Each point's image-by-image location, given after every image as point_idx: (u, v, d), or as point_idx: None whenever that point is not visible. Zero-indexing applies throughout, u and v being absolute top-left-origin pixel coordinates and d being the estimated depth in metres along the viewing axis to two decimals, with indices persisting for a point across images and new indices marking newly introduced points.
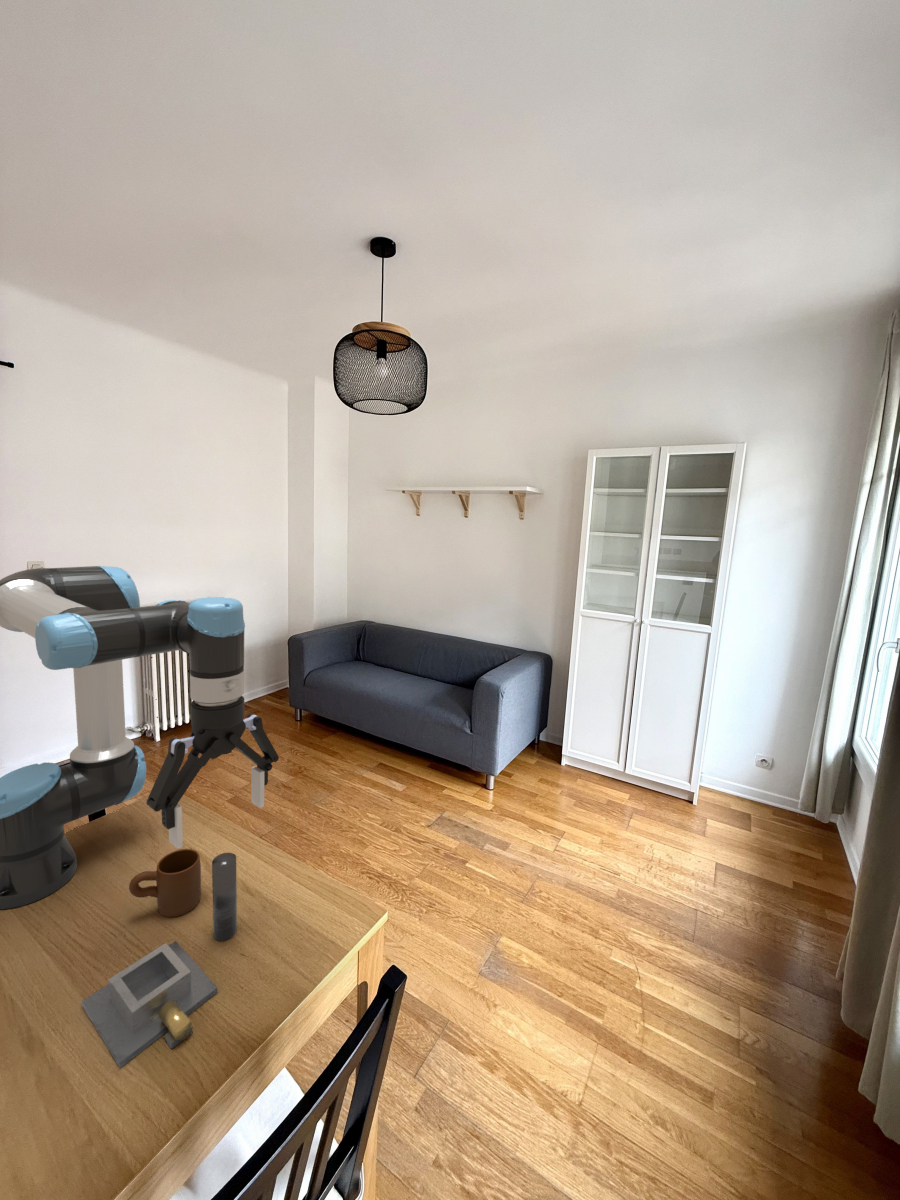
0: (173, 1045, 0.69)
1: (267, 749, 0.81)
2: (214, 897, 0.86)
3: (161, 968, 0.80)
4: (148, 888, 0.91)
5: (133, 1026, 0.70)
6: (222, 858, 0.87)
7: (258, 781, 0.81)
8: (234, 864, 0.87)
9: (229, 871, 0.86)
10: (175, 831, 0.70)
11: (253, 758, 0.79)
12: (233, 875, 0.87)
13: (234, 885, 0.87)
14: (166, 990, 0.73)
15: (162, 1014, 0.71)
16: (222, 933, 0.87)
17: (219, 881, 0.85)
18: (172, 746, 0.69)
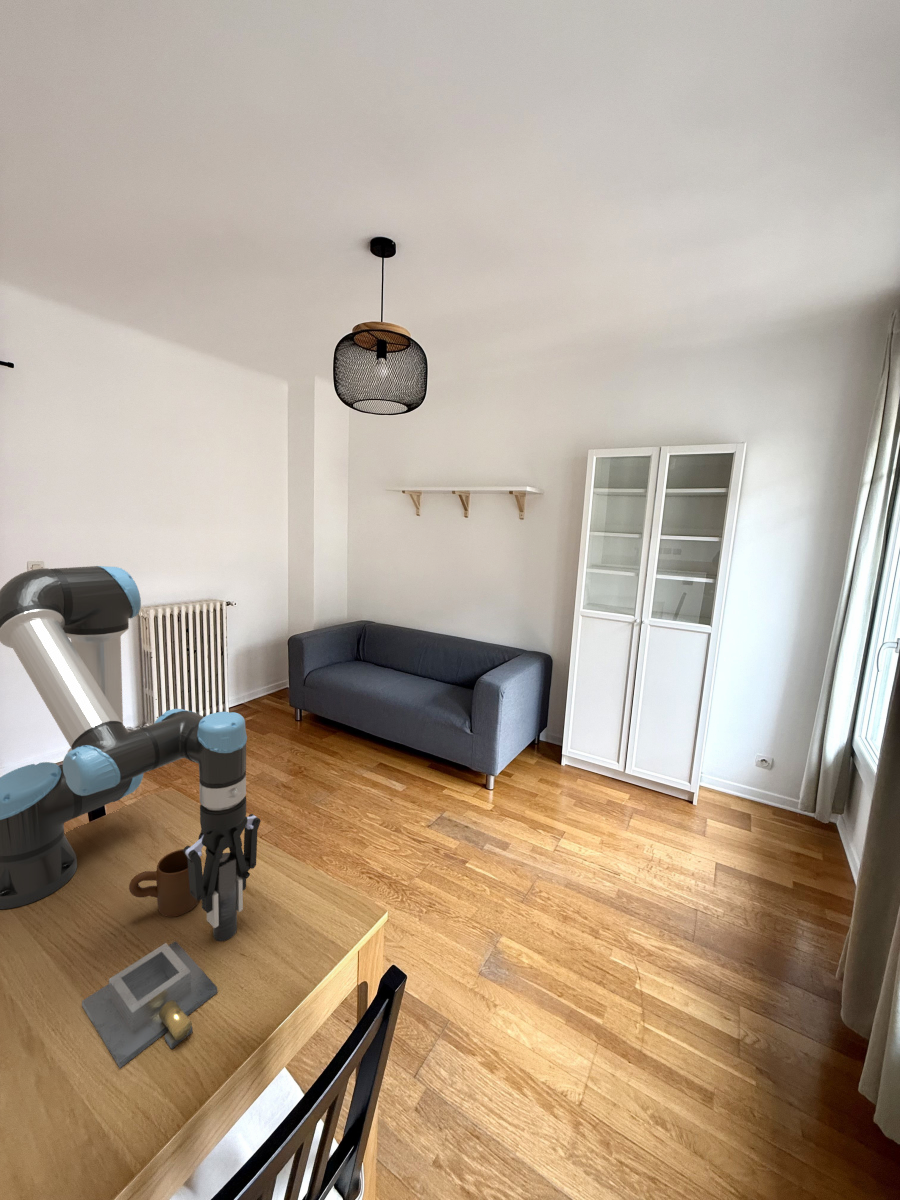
0: (173, 1045, 0.69)
1: (251, 852, 0.90)
2: None
3: (161, 968, 0.80)
4: (148, 888, 0.91)
5: (133, 1026, 0.70)
6: (222, 858, 0.87)
7: (237, 888, 0.89)
8: (234, 864, 0.87)
9: (229, 871, 0.86)
10: (212, 913, 0.86)
11: (239, 861, 0.88)
12: (233, 875, 0.87)
13: (234, 885, 0.87)
14: (166, 990, 0.73)
15: (162, 1014, 0.71)
16: (222, 933, 0.87)
17: (219, 881, 0.85)
18: (187, 856, 0.81)
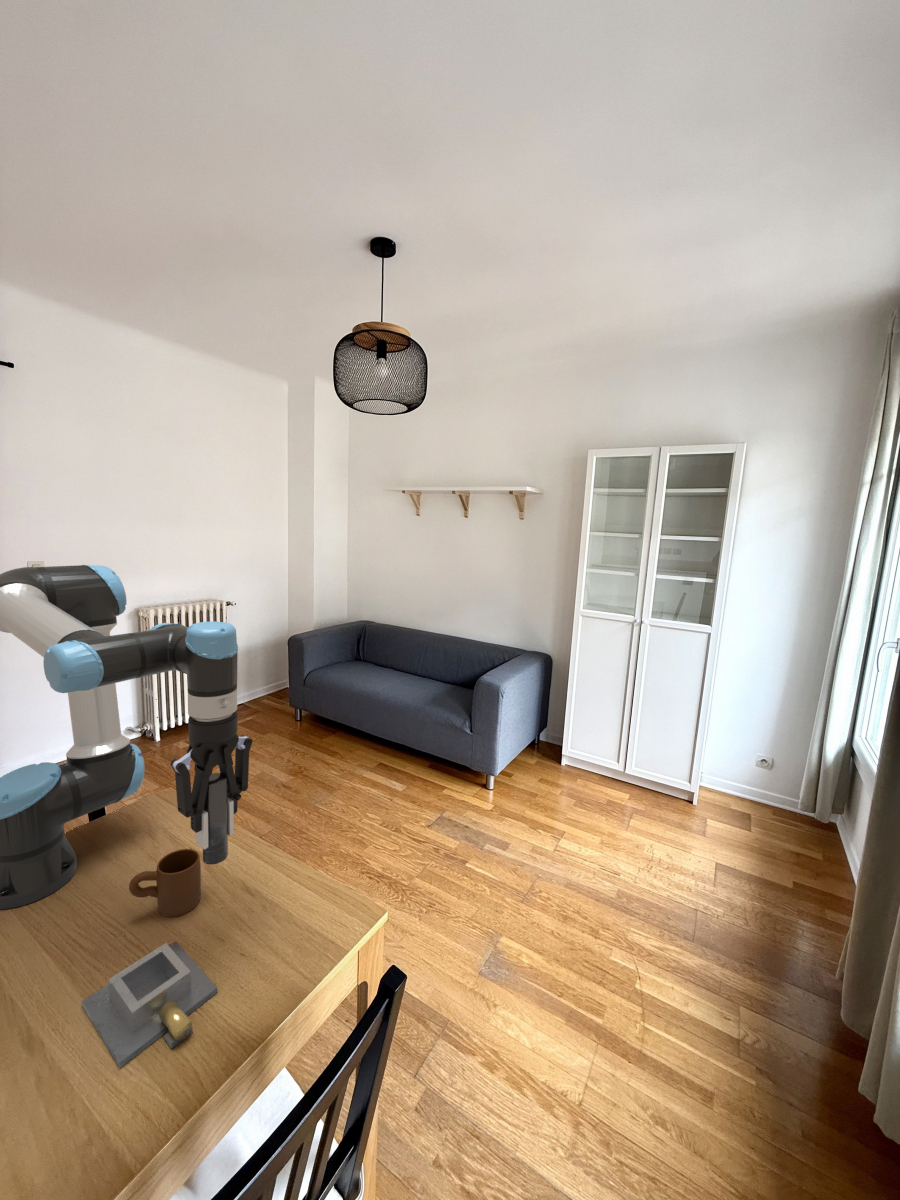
0: (173, 1045, 0.69)
1: (243, 774, 0.86)
2: None
3: (161, 968, 0.80)
4: (148, 888, 0.91)
5: (133, 1026, 0.70)
6: (212, 777, 0.83)
7: None
8: (225, 783, 0.83)
9: (219, 790, 0.82)
10: (202, 834, 0.81)
11: (230, 781, 0.84)
12: (224, 794, 0.82)
13: (224, 805, 0.83)
14: (166, 990, 0.73)
15: (162, 1014, 0.71)
16: (213, 856, 0.83)
17: (209, 799, 0.81)
18: (175, 768, 0.77)
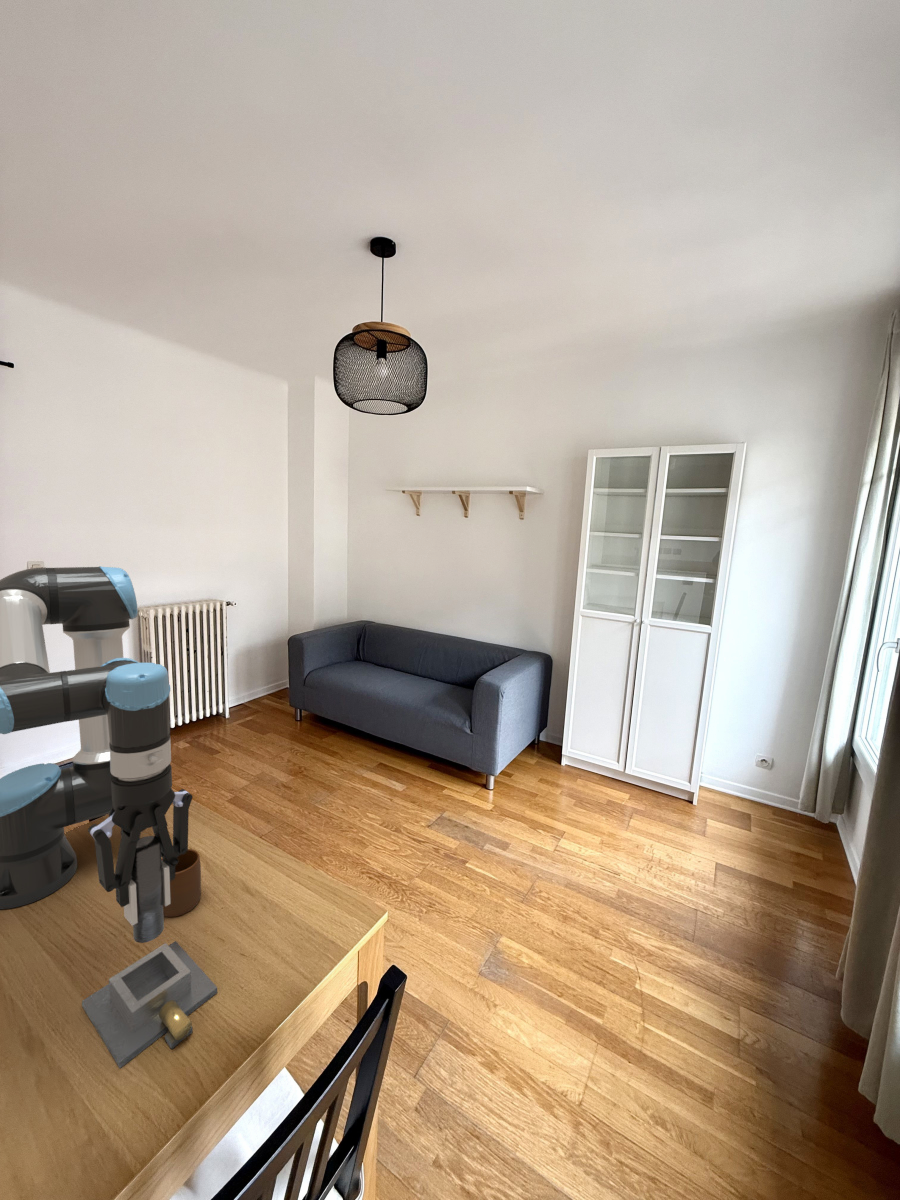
0: (173, 1045, 0.69)
1: (181, 835, 0.75)
2: None
3: (161, 968, 0.80)
4: None
5: (133, 1026, 0.70)
6: (143, 842, 0.72)
7: (162, 877, 0.74)
8: (157, 849, 0.72)
9: (150, 858, 0.71)
10: (129, 908, 0.70)
11: (164, 844, 0.73)
12: (155, 862, 0.72)
13: (157, 874, 0.72)
14: (166, 990, 0.73)
15: (162, 1014, 0.71)
16: (143, 933, 0.72)
17: (137, 869, 0.70)
18: (92, 836, 0.66)
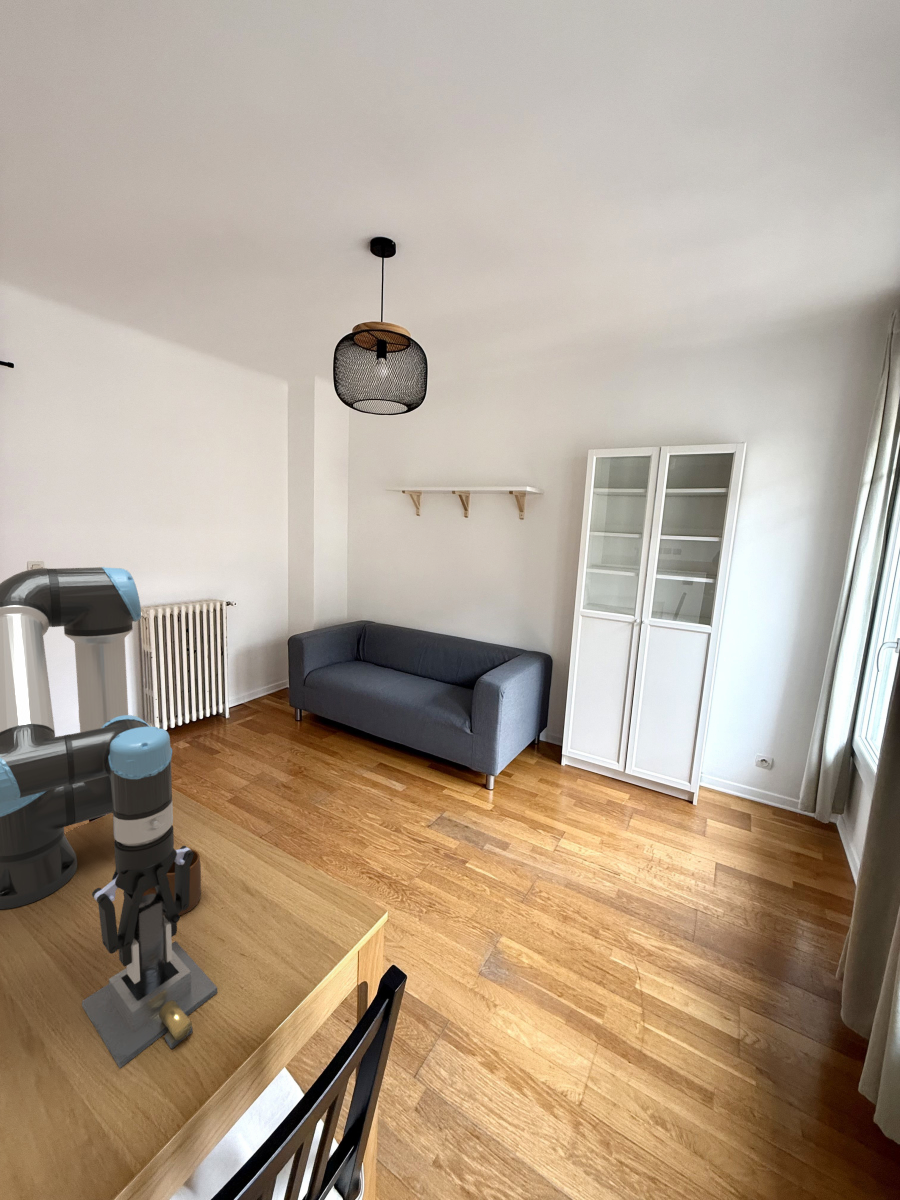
0: (173, 1045, 0.69)
1: (182, 892, 0.77)
2: None
3: None
4: None
5: (133, 1026, 0.70)
6: (145, 901, 0.74)
7: (164, 934, 0.76)
8: (159, 908, 0.73)
9: (152, 918, 0.72)
10: (132, 967, 0.72)
11: (166, 902, 0.75)
12: (157, 921, 0.73)
13: (159, 933, 0.74)
14: (166, 990, 0.73)
15: (162, 1014, 0.71)
16: (146, 990, 0.73)
17: (140, 929, 0.72)
18: None
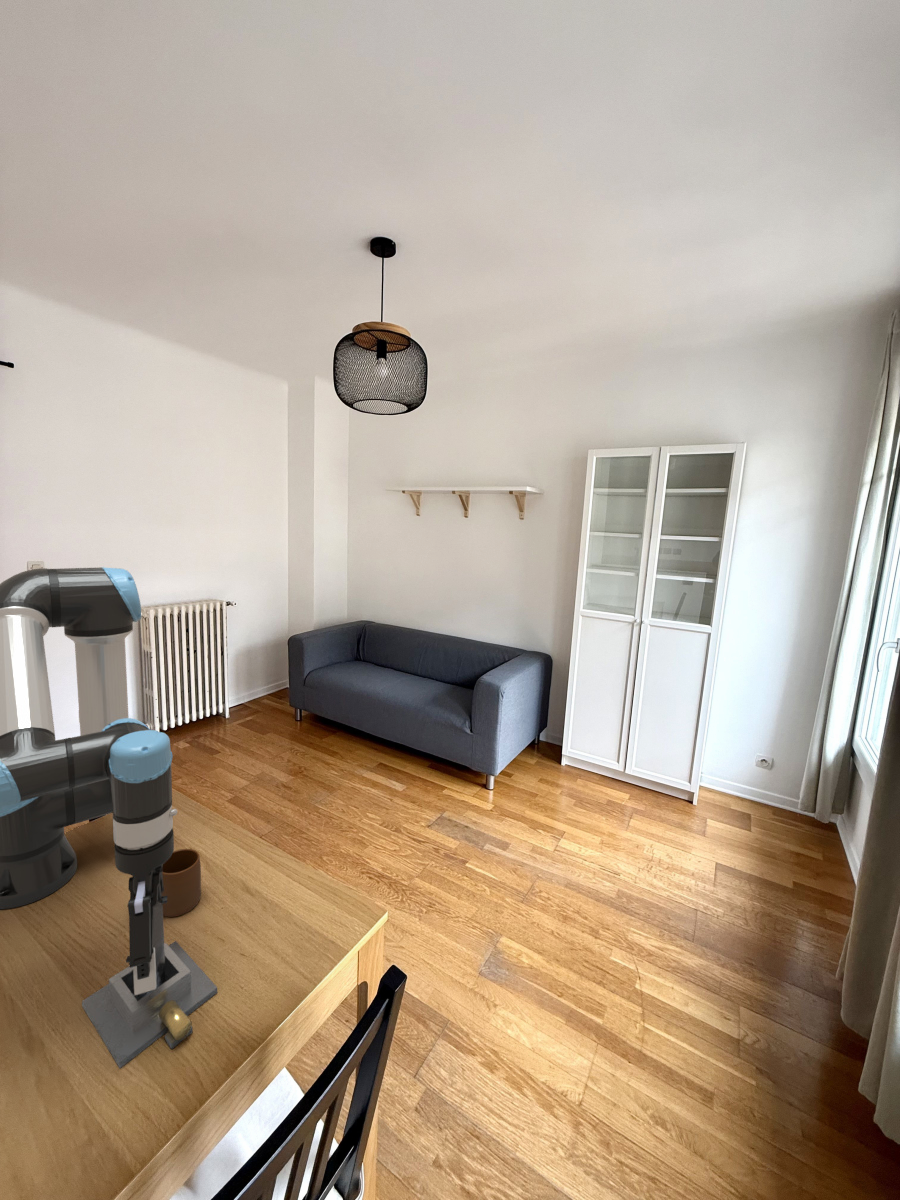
0: (173, 1045, 0.69)
1: None
2: None
3: None
4: None
5: (133, 1026, 0.70)
6: None
7: None
8: None
9: (162, 916, 0.74)
10: (150, 975, 0.71)
11: (159, 891, 0.77)
12: None
13: None
14: (166, 990, 0.73)
15: (162, 1014, 0.71)
16: None
17: (155, 932, 0.73)
18: (138, 907, 0.67)
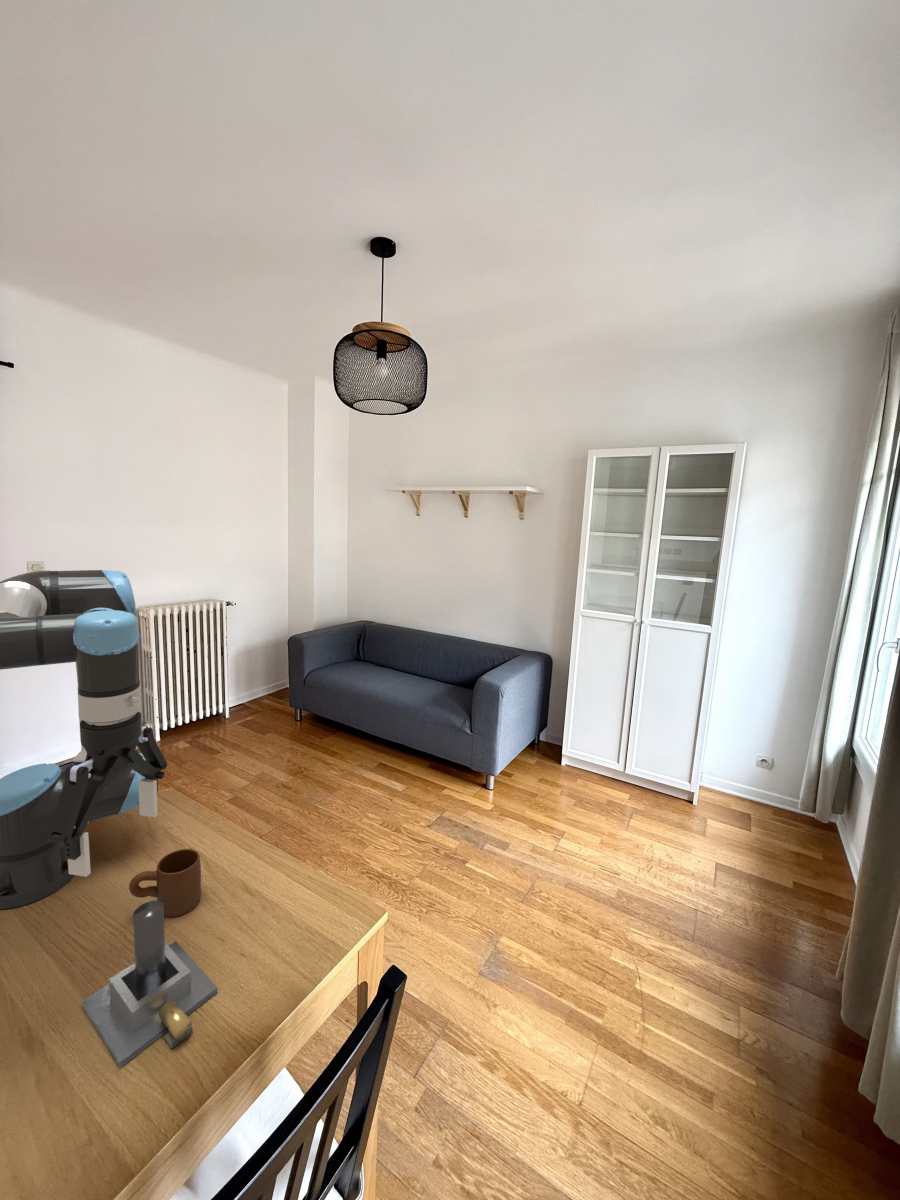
0: (173, 1045, 0.69)
1: (157, 758, 0.80)
2: (148, 956, 0.73)
3: None
4: (148, 888, 0.91)
5: (133, 1026, 0.70)
6: (143, 911, 0.73)
7: (150, 791, 0.80)
8: None
9: (163, 915, 0.75)
10: (81, 860, 0.67)
11: (146, 769, 0.78)
12: None
13: None
14: (166, 990, 0.73)
15: (162, 1014, 0.71)
16: None
17: (156, 931, 0.73)
18: (72, 774, 0.65)
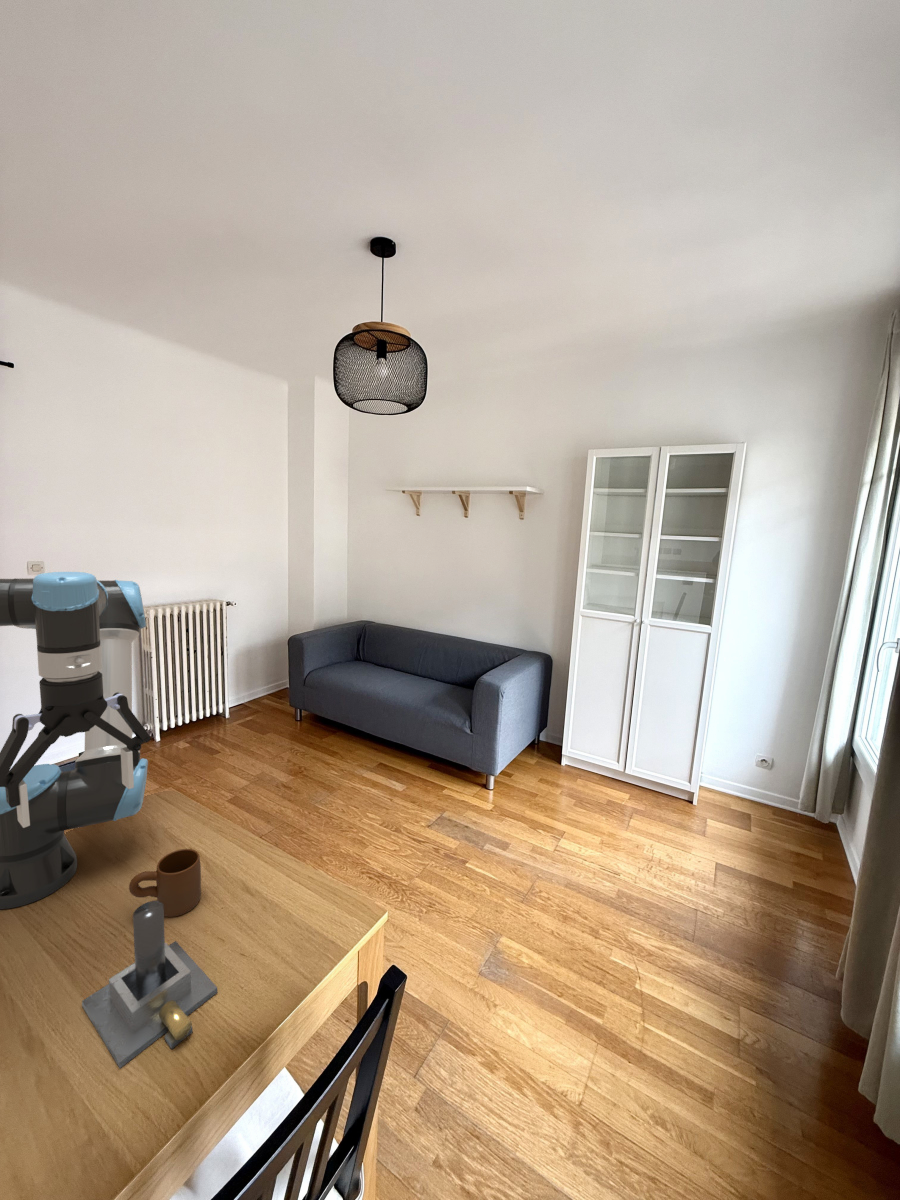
0: (173, 1045, 0.69)
1: (135, 729, 0.80)
2: (148, 956, 0.73)
3: None
4: (148, 888, 0.91)
5: (133, 1026, 0.70)
6: (143, 912, 0.73)
7: (126, 761, 0.80)
8: None
9: (163, 915, 0.74)
10: (20, 809, 0.69)
11: (117, 737, 0.78)
12: None
13: None
14: (166, 990, 0.73)
15: (162, 1014, 0.71)
16: None
17: (156, 932, 0.73)
18: (15, 722, 0.68)
